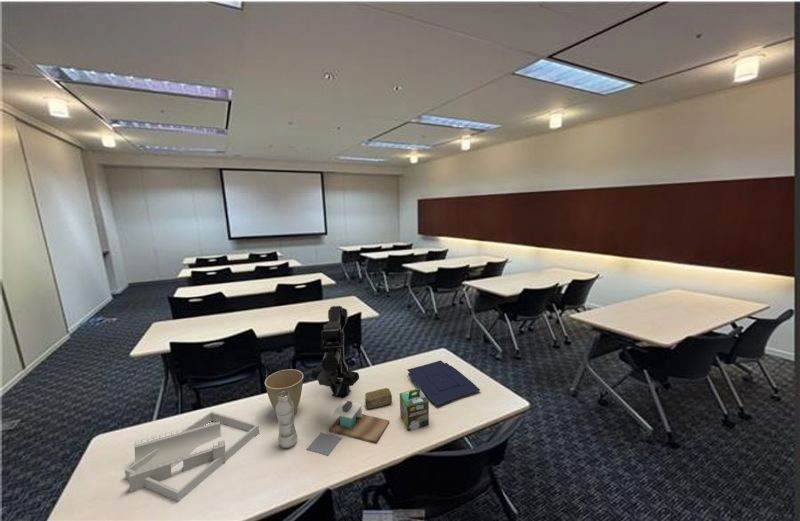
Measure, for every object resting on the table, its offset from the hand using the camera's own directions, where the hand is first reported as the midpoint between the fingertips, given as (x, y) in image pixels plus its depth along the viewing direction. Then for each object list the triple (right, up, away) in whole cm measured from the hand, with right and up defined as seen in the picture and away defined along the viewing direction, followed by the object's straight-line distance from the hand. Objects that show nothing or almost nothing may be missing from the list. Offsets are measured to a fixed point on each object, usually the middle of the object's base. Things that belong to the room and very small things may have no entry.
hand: (335, 394), depth 124 cm
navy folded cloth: (+45, -7, +27) cm, 53 cm away
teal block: (+5, -12, 0) cm, 13 cm away
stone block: (+19, -10, +14) cm, 26 cm away
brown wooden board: (+10, -12, -2) cm, 16 cm away
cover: (+5, -10, 0) cm, 11 cm away
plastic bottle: (-16, -14, -9) cm, 23 cm away
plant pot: (-22, -11, +8) cm, 26 cm away
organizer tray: (-45, -15, -14) cm, 50 cm away
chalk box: (+31, -12, +1) cm, 33 cm away
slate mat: (-2, -14, -10) cm, 17 cm away
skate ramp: (-49, -16, -17) cm, 54 cm away
